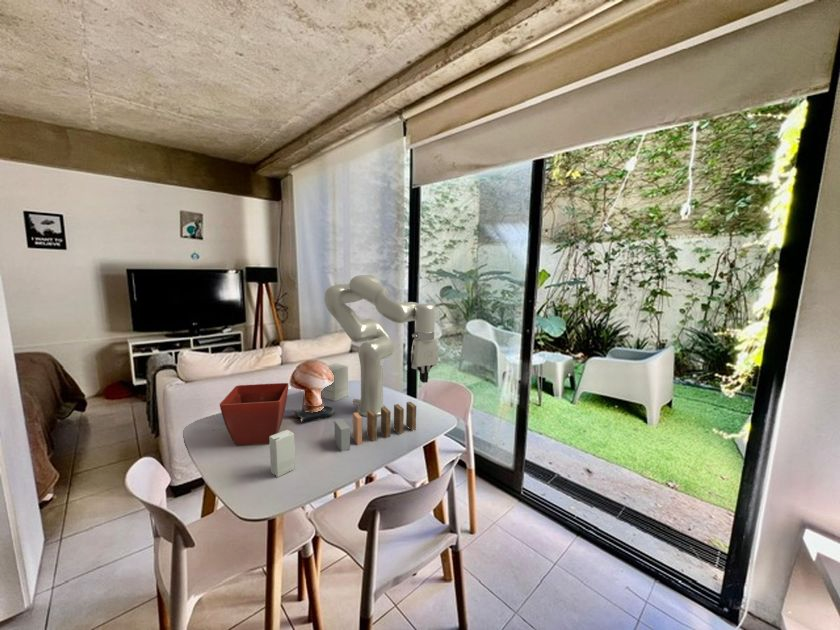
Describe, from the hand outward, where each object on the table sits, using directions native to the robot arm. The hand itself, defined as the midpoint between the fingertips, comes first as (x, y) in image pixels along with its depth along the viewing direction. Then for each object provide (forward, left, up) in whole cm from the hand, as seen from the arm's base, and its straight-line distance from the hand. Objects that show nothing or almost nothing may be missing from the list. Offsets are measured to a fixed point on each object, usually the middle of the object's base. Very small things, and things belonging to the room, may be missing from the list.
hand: (423, 381), depth 136 cm
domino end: (-20, -19, -19) cm, 33 cm away
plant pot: (-56, -26, -19) cm, 64 cm away
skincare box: (-34, -42, -19) cm, 57 cm away
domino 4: (-4, -3, -19) cm, 19 cm away
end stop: (-24, -23, -18) cm, 38 cm away
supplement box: (-48, +17, -19) cm, 54 cm away
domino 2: (-12, -11, -19) cm, 25 cm away
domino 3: (-8, -7, -19) cm, 21 cm away
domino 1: (-16, -15, -19) cm, 29 cm away
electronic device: (-45, -5, -19) cm, 49 cm away
